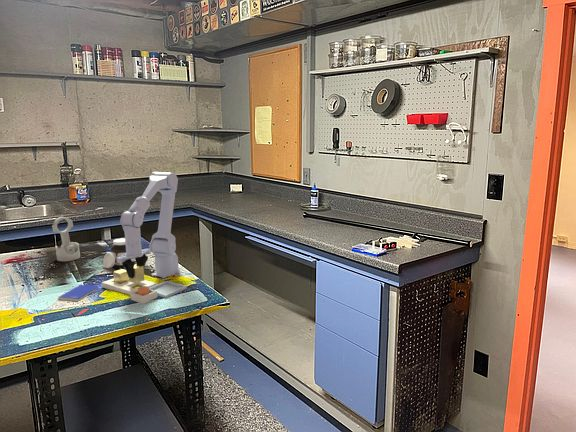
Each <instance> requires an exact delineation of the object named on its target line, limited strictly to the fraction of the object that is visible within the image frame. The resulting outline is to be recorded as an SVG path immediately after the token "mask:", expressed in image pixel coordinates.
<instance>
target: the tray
mask: <svg viewBox="0 0 576 432" xmlns="http://www.w3.org/2000/svg"><path fill="white" fill-rule="evenodd" d="M149 289H151V290H155V291H157V297H161V298H164V299H168V298H169V297H172V296H174V295H176V294H178V293H180V292H182V291H185V290H187V289H188V286H187V285H185V284H180V283H177V282H173V281H170V280H165V281H162V282H160V283H158V284H157V285H155V286H153V287H150V288H149Z"/></svg>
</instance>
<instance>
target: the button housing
mask: <svg viewBox="0 0 576 432" xmlns="http://www.w3.org/2000/svg"><path fill="white" fill-rule="evenodd" d="M149 292H150V293H149V294H146V295H144V296H142V295H138V290H137V291H135V292H133V293H130V294H131V295H130V301H134V302H136V303H139V304H143V305H144V304H147V303H148V302H151V301H152V300H155V299H157V298H158V296H157V291H155V290H151V289H149Z"/></svg>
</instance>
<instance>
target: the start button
mask: <svg viewBox="0 0 576 432" xmlns="http://www.w3.org/2000/svg"><path fill="white" fill-rule="evenodd" d="M137 288H138V295H142V296H144V295H146V294H149V293H150V292H149V287H147V286H143V287H141V286H139V287H137Z"/></svg>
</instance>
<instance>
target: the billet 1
mask: <svg viewBox="0 0 576 432" xmlns="http://www.w3.org/2000/svg"><path fill="white" fill-rule="evenodd" d="M112 274H113V278H114V282H115V283H118V284H122V283H125V282H127V281H129V277H128V274H127V271H126V269H123V268H121V269H118V270H114V271H113V272H112Z"/></svg>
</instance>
